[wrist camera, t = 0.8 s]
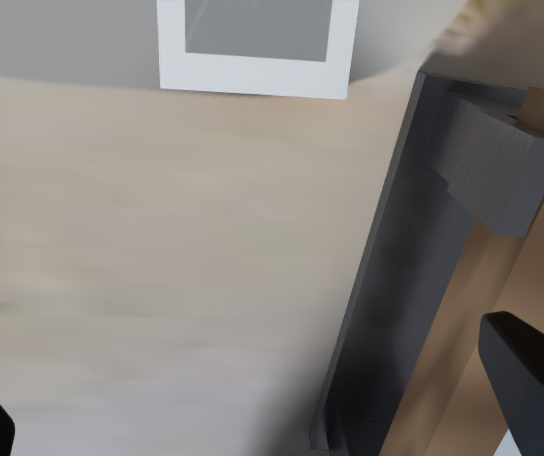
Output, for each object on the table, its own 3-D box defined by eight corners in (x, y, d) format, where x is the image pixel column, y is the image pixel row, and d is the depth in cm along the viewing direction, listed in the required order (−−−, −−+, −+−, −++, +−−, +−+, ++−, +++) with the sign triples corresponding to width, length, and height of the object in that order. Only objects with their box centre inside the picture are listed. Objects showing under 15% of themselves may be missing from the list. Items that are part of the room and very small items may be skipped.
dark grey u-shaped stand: (410, 442, 30) (464, 589, 23) (308, 435, 30) (330, 584, 22) (564, 97, 20) (751, 154, 13) (417, 71, 20) (526, 116, 12)
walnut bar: (402, 521, 26) (420, 582, 23) (352, 519, 26) (364, 580, 23) (609, 101, 16) (684, 122, 13) (529, 86, 15) (589, 105, 13)
